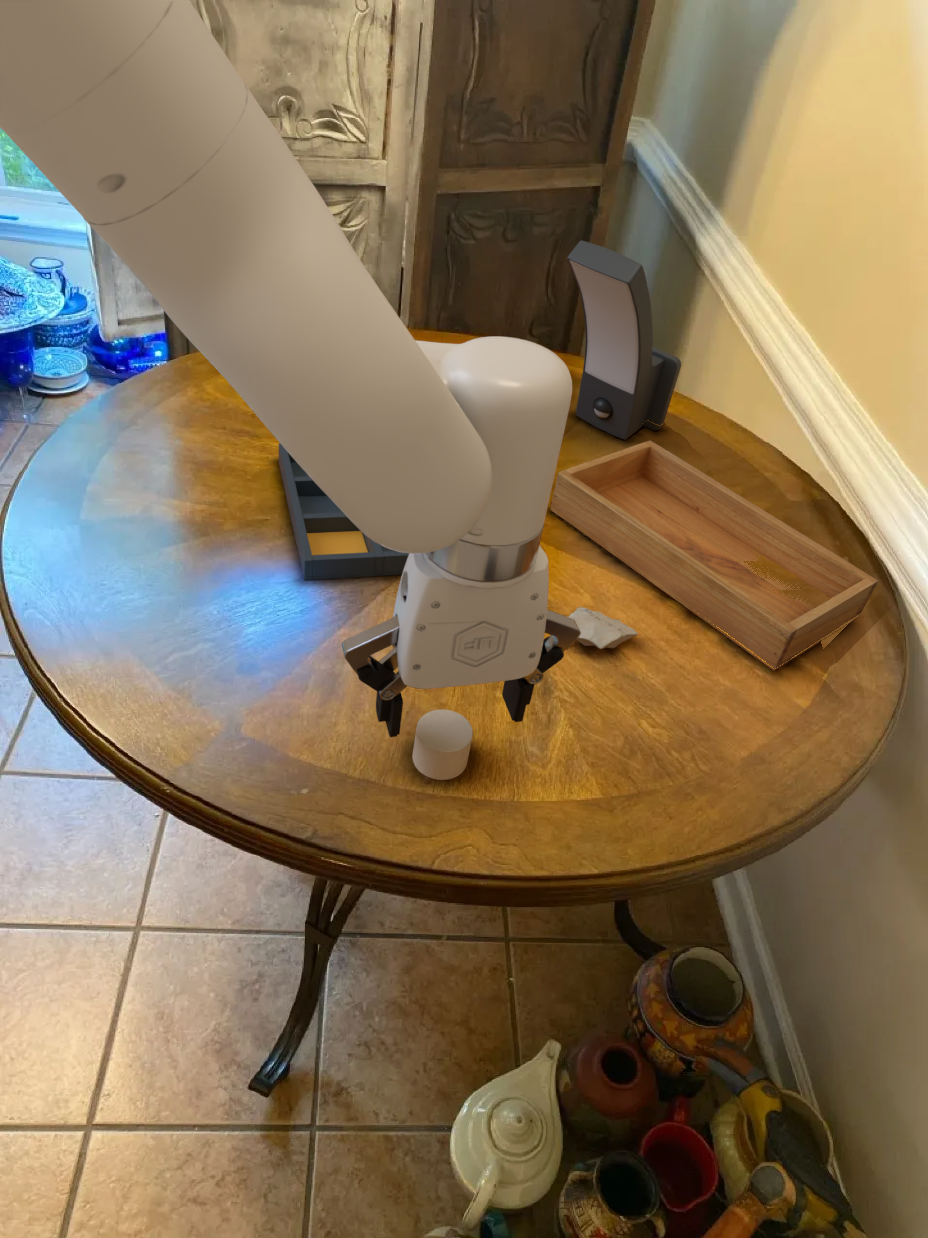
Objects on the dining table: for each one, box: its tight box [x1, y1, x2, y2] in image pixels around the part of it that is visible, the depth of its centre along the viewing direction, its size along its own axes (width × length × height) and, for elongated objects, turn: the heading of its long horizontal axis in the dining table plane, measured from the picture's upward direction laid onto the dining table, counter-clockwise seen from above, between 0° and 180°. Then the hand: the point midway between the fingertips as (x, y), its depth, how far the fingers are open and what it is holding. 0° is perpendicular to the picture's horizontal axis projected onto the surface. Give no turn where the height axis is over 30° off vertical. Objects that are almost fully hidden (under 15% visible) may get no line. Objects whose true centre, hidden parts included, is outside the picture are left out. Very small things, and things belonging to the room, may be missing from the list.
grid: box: [278, 442, 409, 581], centre depth 97 cm, size 21×21×2 cm
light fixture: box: [566, 240, 682, 441], centre depth 110 cm, size 11×17×24 cm, turn 140°
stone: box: [567, 606, 639, 650], centre depth 86 cm, size 6×2×6 cm
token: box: [411, 708, 474, 781], centre depth 72 cm, size 4×4×3 cm
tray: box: [550, 440, 879, 671], centre depth 96 cm, size 31×15×6 cm, turn 39°
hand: (452, 715), depth 70 cm, fingers open, 9 cm apart
